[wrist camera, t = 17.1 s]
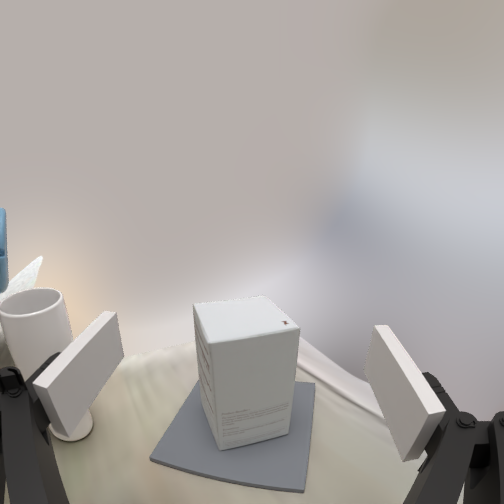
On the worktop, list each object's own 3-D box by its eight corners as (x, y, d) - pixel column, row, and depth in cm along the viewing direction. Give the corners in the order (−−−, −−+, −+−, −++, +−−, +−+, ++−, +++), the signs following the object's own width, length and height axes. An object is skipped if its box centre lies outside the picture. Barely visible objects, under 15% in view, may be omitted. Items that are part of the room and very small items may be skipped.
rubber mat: (303, 492, 19) (304, 489, 19) (150, 460, 22) (149, 457, 22) (314, 386, 34) (315, 383, 34) (205, 372, 37) (205, 368, 37)
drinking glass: (92, 402, 29) (61, 282, 25) (108, 440, 23) (66, 308, 20) (42, 413, 24) (0, 292, 21) (50, 453, 19) (-9, 321, 16)
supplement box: (263, 393, 32) (267, 293, 29) (289, 435, 26) (303, 326, 23) (200, 404, 30) (191, 301, 27) (216, 452, 23) (207, 341, 20)
